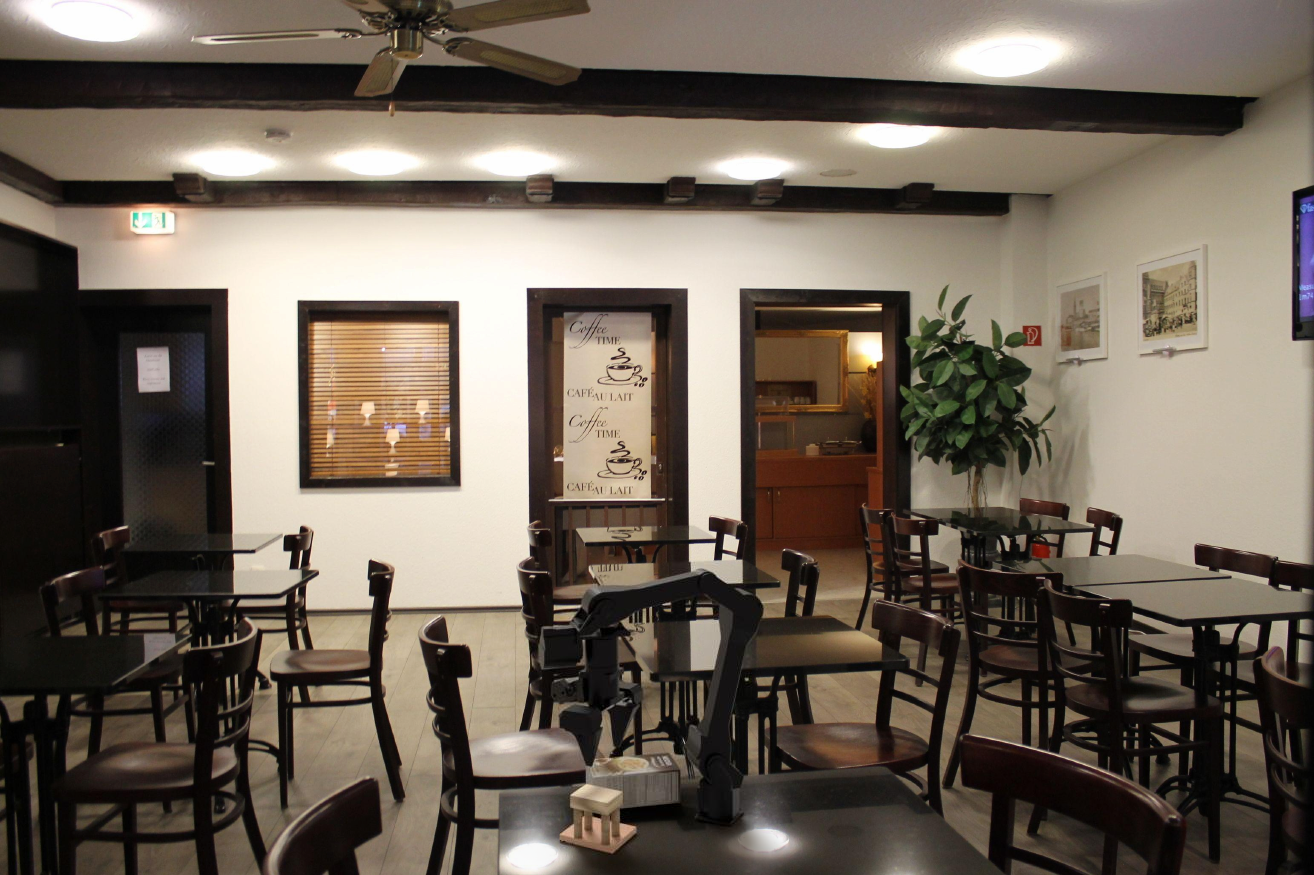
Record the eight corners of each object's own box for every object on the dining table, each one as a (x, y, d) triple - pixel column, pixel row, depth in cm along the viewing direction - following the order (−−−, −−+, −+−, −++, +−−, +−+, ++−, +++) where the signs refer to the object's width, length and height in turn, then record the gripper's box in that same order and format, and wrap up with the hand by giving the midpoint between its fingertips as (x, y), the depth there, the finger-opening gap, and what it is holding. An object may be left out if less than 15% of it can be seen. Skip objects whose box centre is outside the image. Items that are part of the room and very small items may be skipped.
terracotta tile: (636, 832, 149) (636, 826, 149) (612, 853, 142) (612, 847, 142) (585, 821, 153) (585, 815, 153) (559, 840, 146) (559, 834, 146)
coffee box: (585, 758, 165) (669, 750, 169) (585, 792, 165) (669, 784, 169) (592, 777, 156) (681, 768, 160) (593, 813, 156) (681, 804, 160)
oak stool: (623, 833, 146) (622, 791, 146) (607, 846, 142) (607, 803, 142) (586, 825, 150) (586, 784, 149) (570, 837, 145) (570, 795, 145)
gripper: (589, 645, 161) (590, 731, 161) (529, 672, 144) (531, 768, 144) (643, 652, 156) (645, 740, 156) (589, 680, 139) (590, 779, 139)
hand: (603, 756), depth 149 cm, fingers open, 9 cm apart
